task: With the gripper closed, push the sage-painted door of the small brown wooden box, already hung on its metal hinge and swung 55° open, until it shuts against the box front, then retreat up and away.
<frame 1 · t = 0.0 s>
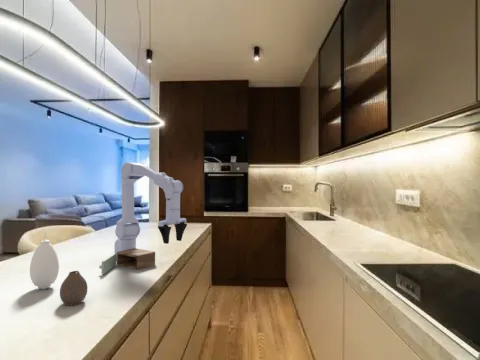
hand: (172, 241, 127), 10 cm above the counter, fingers open, 7 cm apart
brown wooden box: (135, 264, 128), on the counter
vase: (73, 303, 87), on the counter
door: (108, 262, 121), point 3 cm above the counter, hinge at 55.0°
sauce bottle: (44, 288, 99), on the counter
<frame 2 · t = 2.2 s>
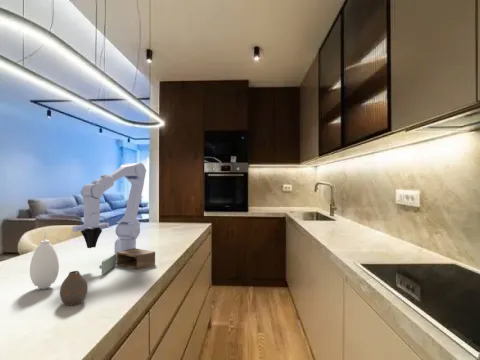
hand: (91, 247, 123), 8 cm above the counter, fingers closed
nothing on the counter moved.
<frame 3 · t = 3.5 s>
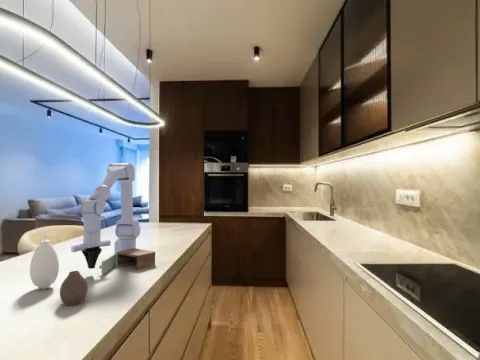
hand: (91, 268, 114), 2 cm above the counter, fingers closed
nothing on the counter moved.
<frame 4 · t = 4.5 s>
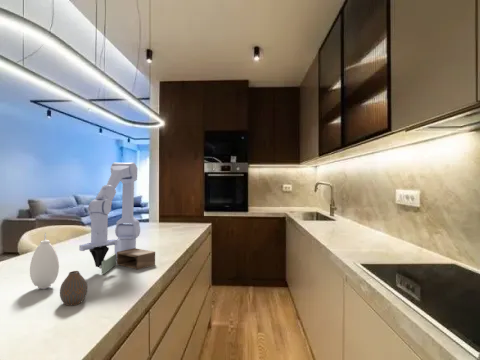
hand: (98, 266, 117), 2 cm above the counter, fingers closed
door: (108, 262, 121), point 3 cm above the counter, hinge at 55.0°, touching gripper
everything else where it was.
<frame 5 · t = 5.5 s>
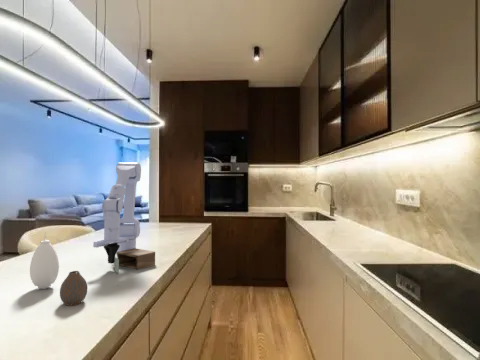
hand: (111, 263, 121), 3 cm above the counter, fingers closed, pressing on door
door: (114, 262, 121), point 3 cm above the counter, hinge at 32.7°, touching gripper
everything else where it was.
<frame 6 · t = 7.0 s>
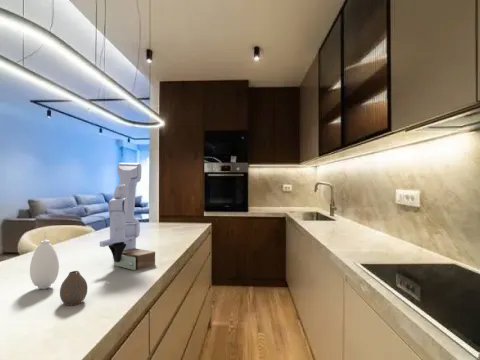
hand: (117, 261, 123), 3 cm above the counter, fingers closed
door: (123, 261, 123), point 3 cm above the counter, hinge at 4.1°, touching gripper
everything else where it was.
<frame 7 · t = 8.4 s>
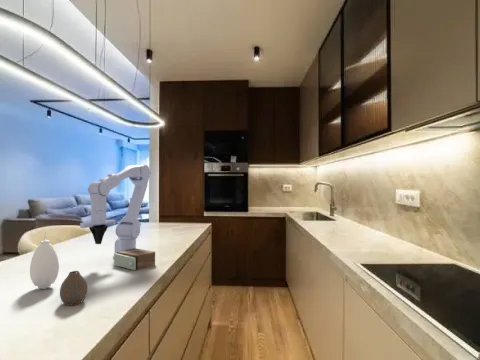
hand: (98, 243, 125), 9 cm above the counter, fingers closed
door: (123, 261, 123), point 3 cm above the counter, hinge at 4.1°
everything else where it was.
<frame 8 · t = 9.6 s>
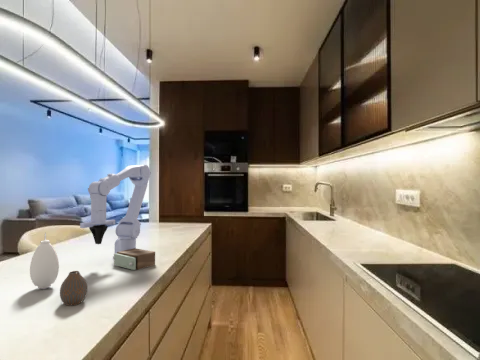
hand: (98, 243, 125), 9 cm above the counter, fingers closed
nothing on the counter moved.
at the end: door at +4° (first picture: +55°); door touching nothing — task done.
